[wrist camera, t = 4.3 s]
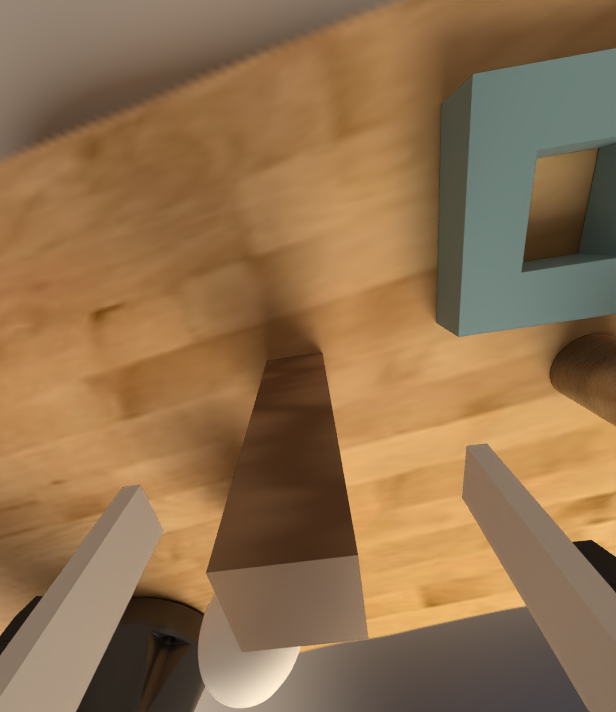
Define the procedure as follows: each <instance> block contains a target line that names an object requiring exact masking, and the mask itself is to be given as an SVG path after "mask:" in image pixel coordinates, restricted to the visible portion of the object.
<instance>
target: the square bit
mask: <svg viewBox="0 0 616 712" xmlns="http://www.w3.org/2000/svg"><path fill="white" fill-rule="evenodd" d="M206 574H207V576H208V578H209V580H210V583H211V585H212V587H213V589H214V591H215V594H216V596H217V598H218V600H219V603H220V605H221V607H222V609H223V611H224V614H225V616H226V618H227V620H228V623H229V625H230V627H231V629H232V631H233V634H234V636H235V638H236V640H237V643H238V645H239V647H240V649H241V651H242V652H251V651H260V650H270V649H279V648H289V647H298V646H307V645H317V644H326V643H336V642H345V641H355V640H364V639H368V631H367V623H366V615H365V607H364V599H363V591H362V583H361V575H360V567H359V559H358V553H357V547H356V541H355V535H354V530H353V524H352V518H351V513H350V507H349V501H348V496H347V490H346V484H345V479H344V473H343V467H342V462H341V456H340V450H339V445H338V439H337V433H336V428H335V422H334V416H333V411H332V405H331V399H330V394H329V388H328V382H327V377H326V371H325V365H324V360H323V354H322V353H319V354H312V355H305V356H298V357H292V358H285V359H278V360H271V361H267V362H266V366H265V369H264V373H263V376H262V380H261V383H260V387H259V390H258V394H257V397H256V401H255V404H254V408H253V411H252V415H251V418H250V422H249V425H248V429H247V432H246V436H245V439H244V443H243V446H242V450H241V453H240V457H239V460H238V464H237V467H236V471H235V474H234V477H233V481H232V484H231V488H230V491H229V495H228V498H227V502H226V505H225V509H224V512H223V516H222V519H221V523H220V526H219V530H218V533H217V537H216V540H215V544H214V547H213V551H212V554H211V558H210V561H209V565H208V568H207V572H206Z"/></svg>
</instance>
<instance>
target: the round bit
mask: <svg viewBox="0 0 616 712" xmlns="http://www.w3.org/2000/svg"><path fill="white" fill-rule="evenodd" d="M550 379H551V383H552V385H553V387H554V388H555V389H556V390H557V391H558V392H560V393H562V394H563V395H565V396H567V397H568V398H570V399H571V400H573V401H575V402H576V403H578V404H580V405H581V406H583V407H585V408H586V409H588V410H590V411H591V412H593V413H595V414H596V415H598V416H599V417H601V418H603V419H604V420H606V421H608V422H609V423H611V424H613V425H614V426H616V337H613V336H610V335H607V334H599V333H598V334H590V335H586V336H583V337H581V338H579V339H577V340H575V341H573V342H572V343H570V344H569V345H568V346H566V347H565V348H564V349H563V350H562V351H561V352H560V354H559V355H558V356H557V357H556V359H555V361H554V363H553V365H552V368H551V372H550Z"/></svg>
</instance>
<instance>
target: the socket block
mask: <svg viewBox="0 0 616 712" xmlns="http://www.w3.org/2000/svg"><path fill="white" fill-rule="evenodd" d="M595 148H599V152H598V157H597V162H596V167H595V172H594V177H593V182H592V186H591V191H590V196H589V201H588V206H587V211H586V216H585V221H584V226H583V231H582V236H581V241H580V246H579V251H578V254H572V255H565V256H559V257H552V258H546V259H539V260H533V261H526V262H523V256H524V248H525V241H526V233H527V226H528V218H529V210H530V203H531V195H532V188H533V180H534V172H535V165H536V158H541V157H547V156H553V155H559V154H565V153H571V152H577V151H583V150H589V149H595ZM613 314H616V48H614V49H609V50H603V51H597V52H592V53H586V54H581V55H575V56H570V57H564V58H559V59H553V60H547V61H542V62H536V63H531V64H525V65H520V66H514V67H509V68H503V69H497V70H492V71H486V72H481V73H475V74H472V75H471V76H470V77H469V78H468V79H467V80H466V81H465V82H464V83H463V84H462V85H461V86H460V87H459V88H458V89H457V90H456V91H455V92H454V93H453V94H452V95H450V96H449V97H448V98H447V99H446V100H445V101H444V102H443V103H442V104H441V146H440V188H439V231H438V274H437V317H436V323H437V324H439V325H440V326H442V327H444V328H445V329H447V330H448V331H450V332H452V333H453V334H455V335H456V336H458V337H461V336H468V335H475V334H482V333H489V332H496V331H502V330H509V329H516V328H523V327H530V326H537V325H544V324H551V323H558V322H565V321H571V320H578V319H585V318H592V317H599V316H606V315H613Z"/></svg>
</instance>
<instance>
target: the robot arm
mask: <svg viewBox="0 0 616 712" xmlns="http://www.w3.org/2000/svg"><path fill="white" fill-rule="evenodd" d="M462 498H463V499H464V501H465V503H466V505H467V506H468V508H469V510H470V511H471V513H472V515H473V516H474V518H475V520H476V521H477V523H478V525H479V526H480V528H481V530H482V532H483V533H484V535H485V537H486V538H487V540H488V542H489V543H490V545H491V547H492V548H493V550H494V552H495V553H496V555H497V557H498V559H499V560H500V562H501V564H502V565H503V567H504V569H505V570H506V572H507V574H508V575H509V577H510V579H511V580H512V582H513V584H514V586H515V587H516V589H517V591H518V592H519V594H520V596H521V597H522V599H523V601H524V602H525V604H526V606H527V607H528V609H529V611H530V612H531V614H532V616H533V618H534V619H535V621H536V623H537V624H538V626H539V628H540V629H541V631H542V633H543V634H544V636H545V638H546V640H547V641H548V643H549V644H550V646H551V648H552V650H553V651H554V653H555V655H556V656H557V658H558V660H559V661H560V663H561V665H562V666H563V668H564V670H565V672H566V673H567V675H568V677H569V678H570V680H571V682H572V683H573V685H574V687H575V688H576V690H577V692H578V693H579V695H580V697H581V698H582V700H583V702H584V704H585V705H586V707H587V709H588V710H589V712H616V557H615V556H614V555H612V554H611V553H609V552H608V551H606V550H605V549H604V548H602V547H601V546H599V545H598V544H597V543H595V542H594V541H592V540H587V541H577V542H571V540H570V539H569V538H568V537H567V536H566V535H565V533H564V532H563V531H562V530H561V529H560V528H559V526H558V525H557V524H556V523H555V522H554V521H553V520H552V518H551V517H550V516H549V515H548V514H547V513H546V511H545V510H544V509H543V508H542V507H541V506H540V504H539V503H538V502H537V501H536V500H535V499H534V498H533V496H532V495H531V494H530V493H529V492H528V491H527V489H526V488H525V487H524V486H523V485H522V484H521V482H520V481H519V480H518V479H517V478H516V477H515V476H514V474H513V473H512V472H511V471H510V470H509V469H508V467H507V466H506V465H505V464H504V463H503V462H502V460H501V459H500V458H499V457H498V456H497V455H496V453H495V452H494V451H493V450H492V449H491V448H490V447H489V445H488V444H479V445H470V446H467V447H466V459H465V470H464V482H463V494H462ZM162 532H163V528H162V526H161V524H160V522H159V520H158V518H157V516H156V514H155V512H154V510H153V508H152V507H151V505H150V503H149V501H148V499H147V497H146V495H145V493H144V491H143V489H142V487H141V485H135V486H126V487H122V488H121V490H120V491H119V493H118V494H117V495H116V497H115V498H114V499H113V501H112V502H111V504H110V505H109V506H108V508H107V509H106V510H105V512H104V513H103V515H102V516H101V517H100V519H99V520H98V521H97V523H96V524H95V526H94V527H93V528H92V530H91V531H90V533H89V534H88V535H87V537H86V538H85V539H84V541H83V542H82V544H81V545H80V546H79V548H78V549H77V550H76V552H75V553H74V555H73V556H72V557H71V559H70V560H69V561H68V563H67V564H66V566H65V567H64V568H63V570H62V571H61V572H60V574H59V575H58V577H57V578H56V579H55V581H54V582H53V583H52V585H51V586H50V588H49V589H48V590H47V592H46V593H45V594H44V596H36V597H35V598H34V599H33V600H32V601H31V602H30V603H29V604H28V605H27V606H26V607H25V608H24V609H23V610H22V611H21V612H20V613H18V614H17V615H16V616H15V617H14V619H13V620H12V621H11V623H10V624H9V625H8V627H7V628H6V629H5V631H4V632H3V633H2V634H1V636H0V712H194V710H195V708H196V706H197V703H198V701H199V699H200V697H201V694H202V692H203V690H204V688H205V684H204V682H203V680H202V677H201V673H200V669H199V662H198V642H199V634H200V629H201V625H202V621H203V617H204V616H203V615H202V614H200V613H198V612H197V611H195V610H193V609H191V608H189V607H186V606H184V605H181V604H178V603H175V602H171V601H167V600H161V599H154V598H131V597H132V595H133V592H134V590H135V588H136V586H137V584H138V582H139V580H140V578H141V576H142V574H143V572H144V570H145V568H146V566H147V563H148V561H149V559H150V557H151V555H152V553H153V551H154V549H155V547H156V545H157V543H158V541H159V539H160V536H161V534H162Z"/></svg>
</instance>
